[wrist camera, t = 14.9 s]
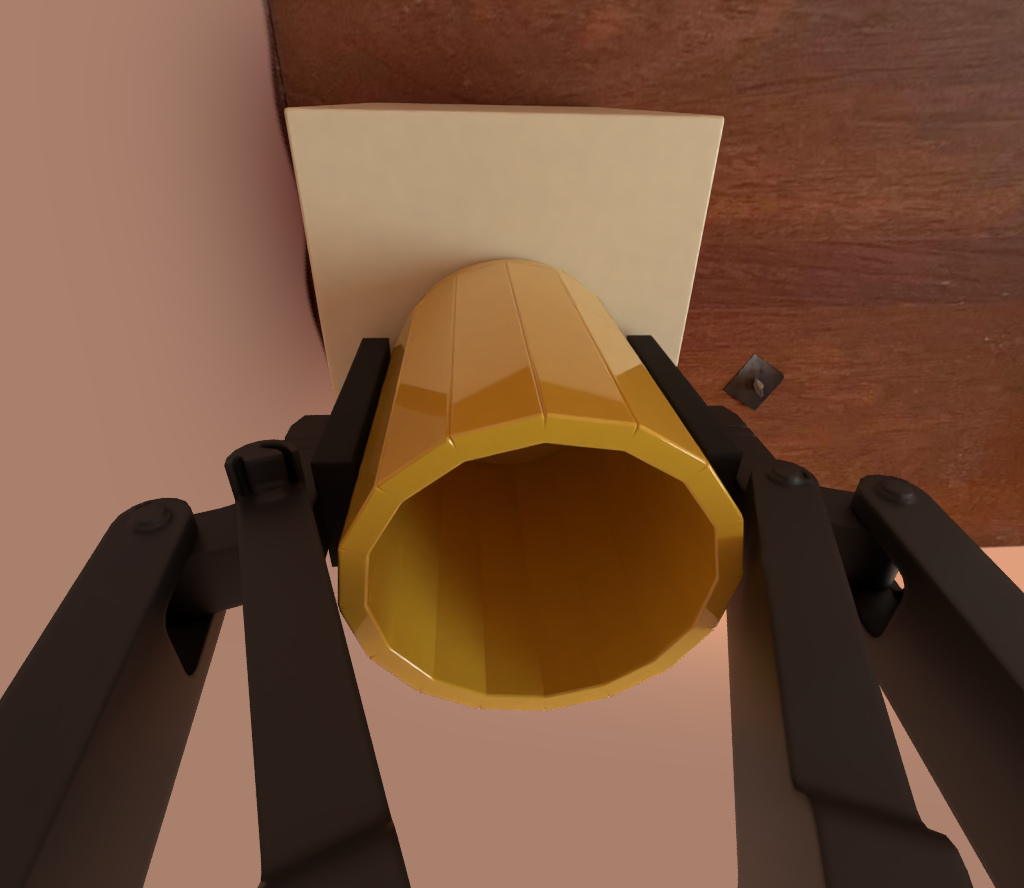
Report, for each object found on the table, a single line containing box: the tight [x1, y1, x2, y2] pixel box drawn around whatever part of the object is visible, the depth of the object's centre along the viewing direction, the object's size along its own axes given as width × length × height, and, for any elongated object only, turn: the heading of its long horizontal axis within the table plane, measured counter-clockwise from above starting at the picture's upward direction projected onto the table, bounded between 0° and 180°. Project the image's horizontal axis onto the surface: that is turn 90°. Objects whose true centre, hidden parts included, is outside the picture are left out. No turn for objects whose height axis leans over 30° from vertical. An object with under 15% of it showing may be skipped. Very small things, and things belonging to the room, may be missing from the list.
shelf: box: [284, 103, 724, 403], centre depth 24 cm, size 14×11×16 cm
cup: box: [338, 259, 743, 711], centre depth 13 cm, size 7×7×9 cm
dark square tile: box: [724, 354, 784, 410], centre depth 36 cm, size 3×3×1 cm
